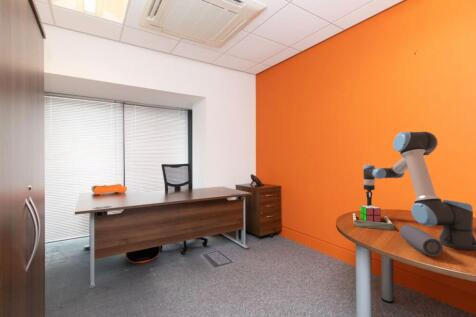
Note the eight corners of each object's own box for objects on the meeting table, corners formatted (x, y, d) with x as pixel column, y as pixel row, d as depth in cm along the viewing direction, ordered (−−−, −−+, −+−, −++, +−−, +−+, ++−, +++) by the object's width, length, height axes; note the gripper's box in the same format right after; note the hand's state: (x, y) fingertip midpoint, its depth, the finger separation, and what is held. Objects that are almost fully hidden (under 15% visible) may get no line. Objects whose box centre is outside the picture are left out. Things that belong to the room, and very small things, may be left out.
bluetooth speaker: (444, 259, 106) (444, 238, 106) (421, 258, 108) (421, 236, 108) (417, 242, 128) (417, 224, 128) (398, 241, 130) (398, 223, 130)
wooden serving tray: (394, 230, 149) (394, 224, 149) (354, 226, 158) (354, 220, 158) (386, 219, 176) (386, 213, 176) (352, 216, 186) (352, 211, 186)
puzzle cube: (380, 222, 168) (380, 208, 168) (366, 222, 169) (366, 208, 169) (373, 218, 178) (373, 205, 178) (360, 218, 179) (360, 205, 179)
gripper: (363, 183, 189) (363, 212, 190) (364, 185, 178) (364, 216, 178) (373, 183, 186) (373, 213, 186) (375, 185, 174) (375, 217, 175)
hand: (369, 214), depth 182 cm, fingers closed
